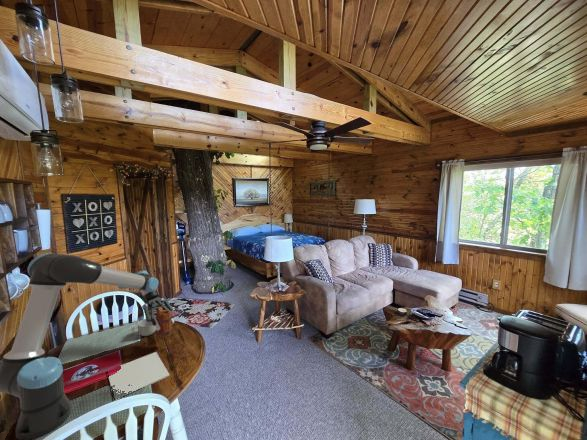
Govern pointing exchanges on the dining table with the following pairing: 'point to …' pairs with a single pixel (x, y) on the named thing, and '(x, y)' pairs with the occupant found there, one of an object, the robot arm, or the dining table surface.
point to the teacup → (144, 328)
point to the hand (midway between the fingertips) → (166, 326)
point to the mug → (164, 322)
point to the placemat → (139, 373)
